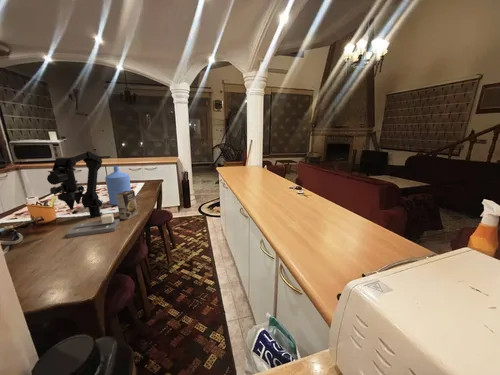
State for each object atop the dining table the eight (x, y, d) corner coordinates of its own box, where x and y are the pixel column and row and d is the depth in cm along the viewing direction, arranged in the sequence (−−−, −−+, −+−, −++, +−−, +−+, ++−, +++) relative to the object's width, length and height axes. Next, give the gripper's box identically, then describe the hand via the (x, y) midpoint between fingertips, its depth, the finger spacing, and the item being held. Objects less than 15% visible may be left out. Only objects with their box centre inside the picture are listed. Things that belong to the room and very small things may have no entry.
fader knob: (104, 222, 126) (103, 214, 125) (114, 221, 128) (113, 213, 127) (102, 225, 123) (101, 217, 121) (112, 224, 124) (111, 215, 123)
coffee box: (128, 219, 136) (124, 194, 132) (119, 218, 138) (115, 194, 133) (138, 214, 145) (134, 190, 141) (129, 213, 146) (126, 190, 142)
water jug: (126, 205, 160) (119, 168, 153) (105, 205, 161) (97, 168, 153) (137, 198, 175) (131, 164, 168) (117, 198, 176) (111, 164, 168)
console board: (76, 227, 126) (75, 223, 126) (119, 221, 133) (119, 218, 133) (67, 237, 114) (66, 233, 114) (114, 230, 121) (114, 227, 121)
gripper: (58, 177, 126) (65, 203, 130) (41, 185, 109) (49, 214, 113) (81, 176, 130) (87, 201, 134) (68, 183, 113) (75, 211, 117)
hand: (75, 206), depth 125 cm, fingers open, 9 cm apart
